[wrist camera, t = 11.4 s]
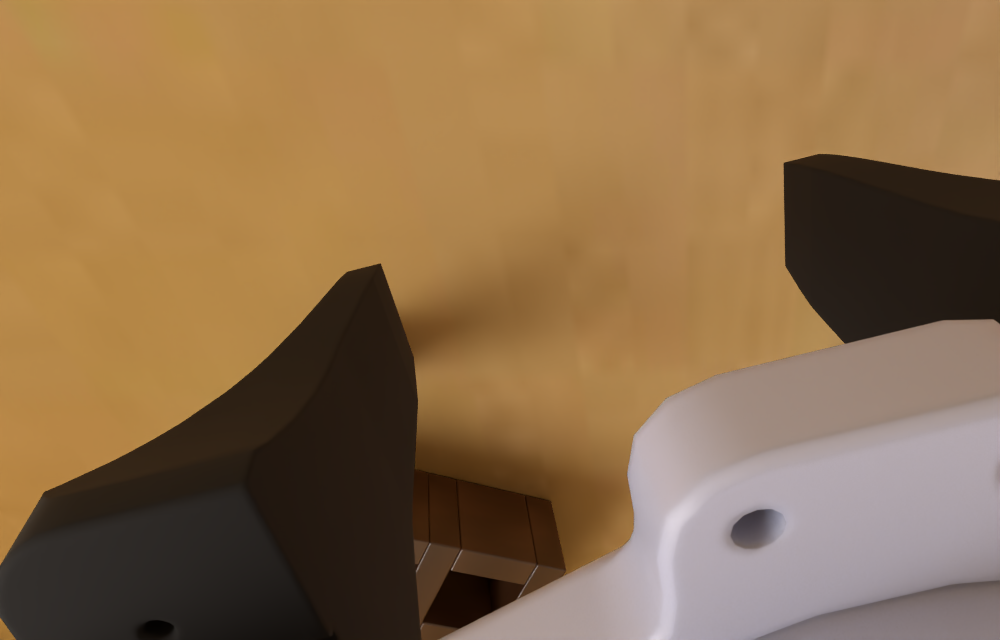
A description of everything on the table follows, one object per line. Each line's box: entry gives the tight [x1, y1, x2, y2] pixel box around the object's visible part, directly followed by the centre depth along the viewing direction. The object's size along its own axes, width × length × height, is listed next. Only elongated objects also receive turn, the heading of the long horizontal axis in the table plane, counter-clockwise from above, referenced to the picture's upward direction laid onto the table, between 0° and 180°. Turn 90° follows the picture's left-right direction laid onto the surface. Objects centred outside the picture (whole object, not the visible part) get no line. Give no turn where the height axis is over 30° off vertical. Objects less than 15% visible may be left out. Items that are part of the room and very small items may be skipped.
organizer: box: [413, 470, 566, 640], centre depth 30 cm, size 10×14×4 cm
